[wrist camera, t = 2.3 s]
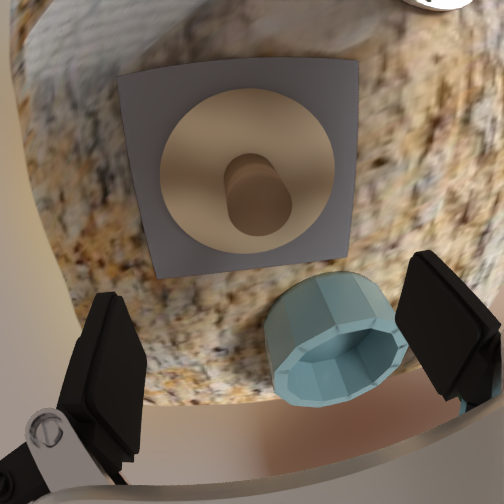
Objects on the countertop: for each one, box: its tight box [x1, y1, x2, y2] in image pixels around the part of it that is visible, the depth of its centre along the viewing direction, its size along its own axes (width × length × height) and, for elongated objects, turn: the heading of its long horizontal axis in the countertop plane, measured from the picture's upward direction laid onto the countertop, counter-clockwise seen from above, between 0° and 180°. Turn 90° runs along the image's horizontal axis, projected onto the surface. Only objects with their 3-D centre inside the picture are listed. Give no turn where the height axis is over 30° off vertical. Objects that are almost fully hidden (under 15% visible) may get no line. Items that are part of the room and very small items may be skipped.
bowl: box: [264, 271, 409, 407], centre depth 25 cm, size 11×11×6 cm
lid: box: [160, 88, 335, 254], centre depth 16 cm, size 10×10×5 cm
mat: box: [117, 57, 359, 279], centre depth 19 cm, size 14×14×1 cm
